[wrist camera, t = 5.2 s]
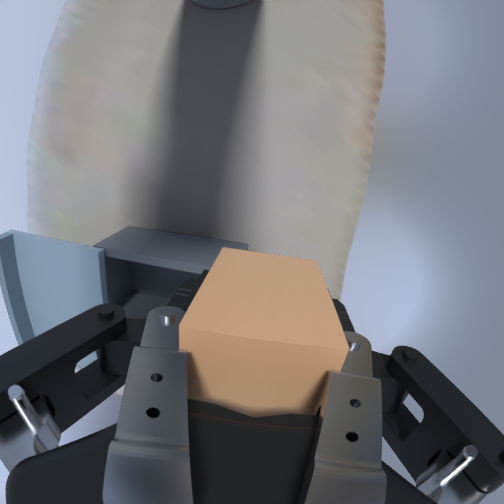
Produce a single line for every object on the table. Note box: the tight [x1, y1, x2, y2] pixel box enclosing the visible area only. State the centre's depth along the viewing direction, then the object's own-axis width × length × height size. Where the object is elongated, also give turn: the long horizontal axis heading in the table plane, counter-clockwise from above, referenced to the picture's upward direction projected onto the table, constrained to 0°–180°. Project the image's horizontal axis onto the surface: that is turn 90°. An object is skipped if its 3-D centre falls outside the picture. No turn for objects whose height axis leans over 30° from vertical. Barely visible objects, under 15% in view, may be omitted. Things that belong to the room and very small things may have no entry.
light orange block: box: [179, 247, 349, 417], centre depth 10 cm, size 4×4×6 cm
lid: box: [0, 230, 109, 368], centre depth 24 cm, size 16×15×4 cm
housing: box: [93, 226, 248, 319], centre depth 29 cm, size 16×14×8 cm
